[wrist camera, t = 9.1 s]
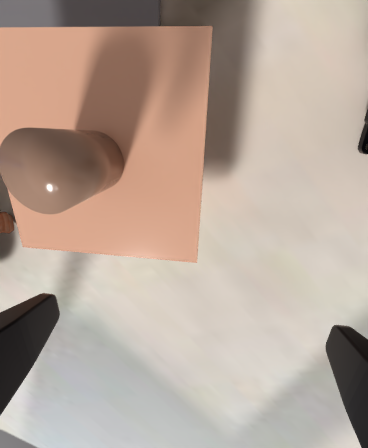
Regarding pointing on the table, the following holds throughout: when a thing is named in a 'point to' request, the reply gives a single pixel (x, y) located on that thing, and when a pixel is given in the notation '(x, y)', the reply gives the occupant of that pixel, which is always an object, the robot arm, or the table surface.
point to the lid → (105, 137)
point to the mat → (79, 13)
